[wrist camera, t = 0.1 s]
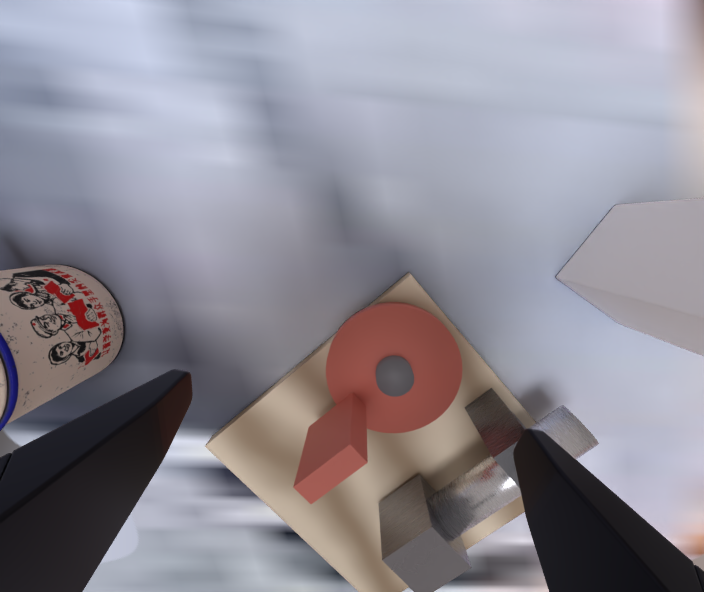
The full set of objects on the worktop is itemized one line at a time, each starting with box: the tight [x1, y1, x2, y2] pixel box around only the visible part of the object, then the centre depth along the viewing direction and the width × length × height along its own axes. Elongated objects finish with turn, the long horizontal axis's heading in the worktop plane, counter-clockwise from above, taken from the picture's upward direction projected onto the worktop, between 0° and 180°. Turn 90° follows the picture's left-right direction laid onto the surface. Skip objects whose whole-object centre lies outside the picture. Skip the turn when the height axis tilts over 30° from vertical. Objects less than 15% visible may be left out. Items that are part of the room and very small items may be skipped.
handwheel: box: [293, 302, 463, 504], centre depth 20 cm, size 12×9×7 cm
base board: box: [205, 272, 536, 592], centre depth 26 cm, size 20×20×1 cm
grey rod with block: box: [379, 405, 599, 592], centre depth 23 cm, size 15×4×4 cm, turn 131°
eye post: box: [464, 388, 527, 488], centre depth 22 cm, size 2×8×5 cm, turn 41°
